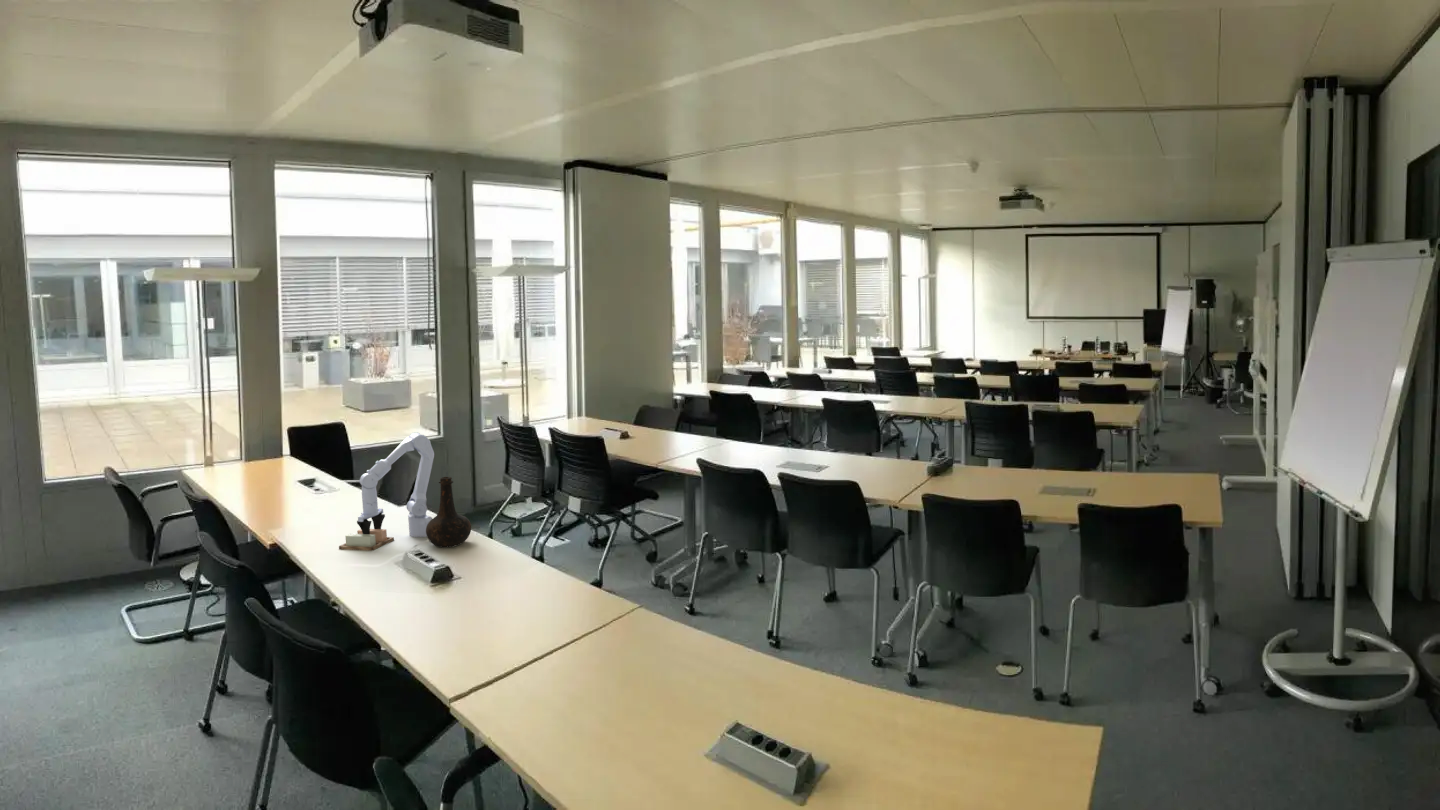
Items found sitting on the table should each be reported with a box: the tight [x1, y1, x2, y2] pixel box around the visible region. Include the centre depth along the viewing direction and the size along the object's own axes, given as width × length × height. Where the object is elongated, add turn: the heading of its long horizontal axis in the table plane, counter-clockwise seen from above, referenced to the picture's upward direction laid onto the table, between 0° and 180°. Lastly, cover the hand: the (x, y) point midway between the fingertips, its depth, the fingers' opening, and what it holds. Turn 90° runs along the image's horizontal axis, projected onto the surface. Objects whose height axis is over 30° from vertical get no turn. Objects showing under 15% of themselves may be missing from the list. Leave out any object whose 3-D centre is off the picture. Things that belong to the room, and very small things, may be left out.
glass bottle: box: [426, 476, 472, 548], centre depth 347 cm, size 18×18×28 cm
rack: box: [338, 536, 395, 551], centre depth 349 cm, size 15×15×2 cm
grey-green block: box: [345, 533, 376, 547], centre depth 345 cm, size 11×4×5 cm, turn 78°
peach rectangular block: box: [356, 528, 388, 541], centre depth 352 cm, size 11×4×5 cm, turn 79°
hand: (372, 534), depth 352 cm, fingers open, 7 cm apart
